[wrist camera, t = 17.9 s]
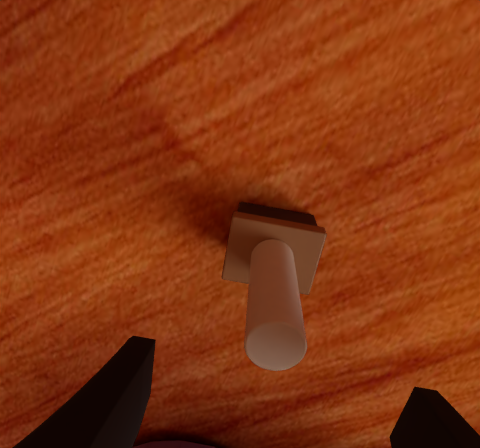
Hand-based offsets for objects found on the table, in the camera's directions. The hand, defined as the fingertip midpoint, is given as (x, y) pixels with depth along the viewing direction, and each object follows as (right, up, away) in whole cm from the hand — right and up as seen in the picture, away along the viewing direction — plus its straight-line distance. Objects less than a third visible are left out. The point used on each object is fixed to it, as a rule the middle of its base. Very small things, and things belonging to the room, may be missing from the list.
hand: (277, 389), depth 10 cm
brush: (+1, +4, +10) cm, 10 cm away
